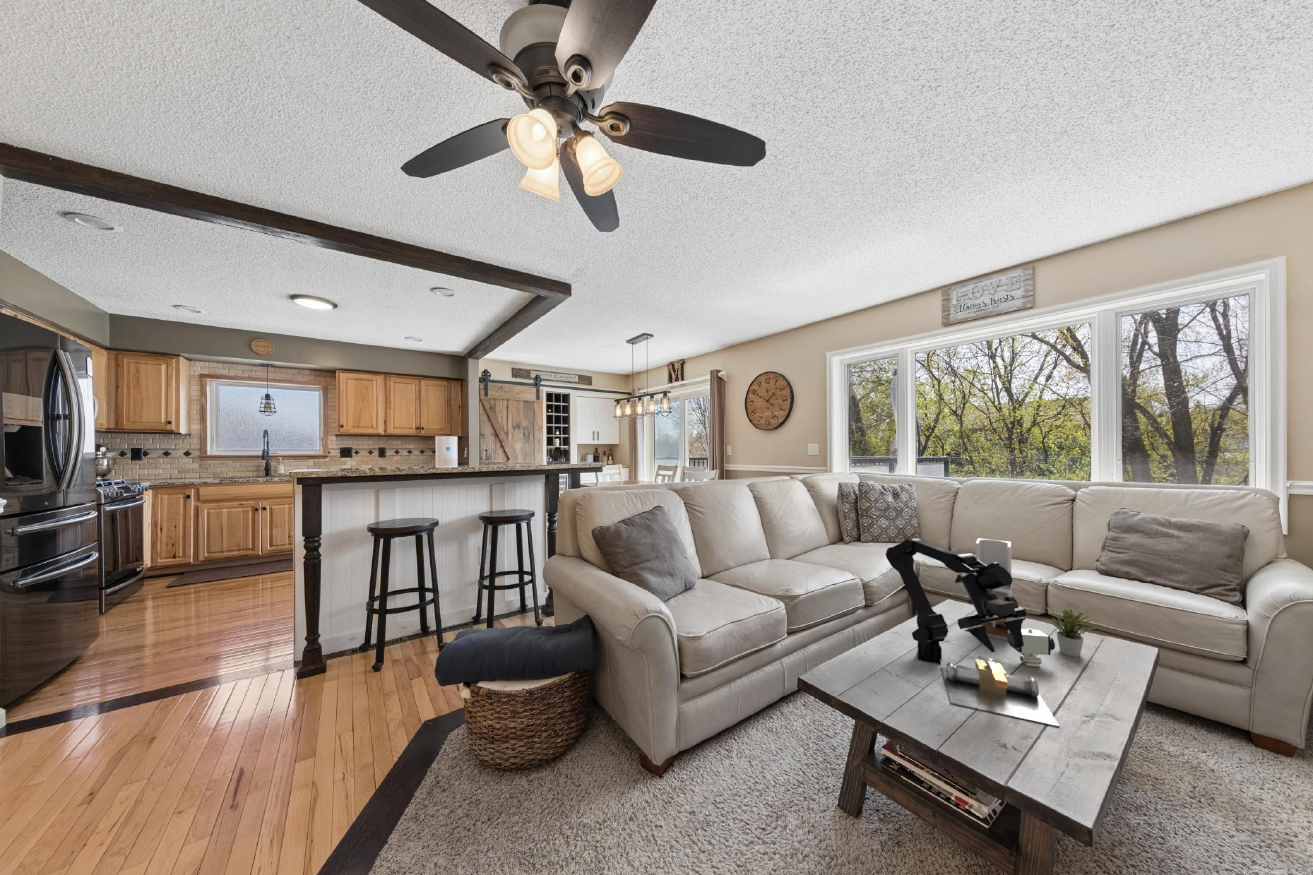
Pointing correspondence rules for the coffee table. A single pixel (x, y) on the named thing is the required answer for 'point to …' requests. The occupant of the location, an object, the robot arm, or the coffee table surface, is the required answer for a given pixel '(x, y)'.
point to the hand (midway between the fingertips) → (1007, 649)
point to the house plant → (1070, 632)
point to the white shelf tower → (1000, 553)
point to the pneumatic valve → (1032, 646)
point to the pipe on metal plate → (996, 693)
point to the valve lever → (996, 673)
